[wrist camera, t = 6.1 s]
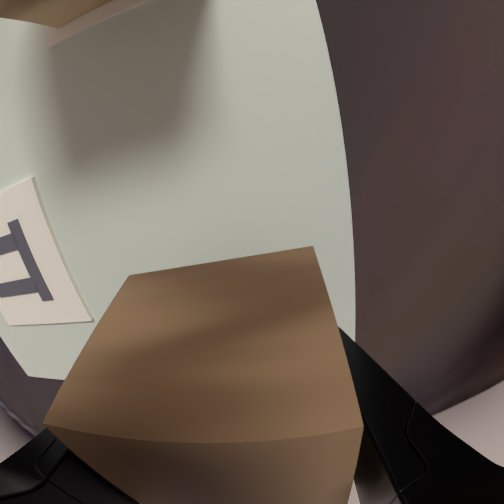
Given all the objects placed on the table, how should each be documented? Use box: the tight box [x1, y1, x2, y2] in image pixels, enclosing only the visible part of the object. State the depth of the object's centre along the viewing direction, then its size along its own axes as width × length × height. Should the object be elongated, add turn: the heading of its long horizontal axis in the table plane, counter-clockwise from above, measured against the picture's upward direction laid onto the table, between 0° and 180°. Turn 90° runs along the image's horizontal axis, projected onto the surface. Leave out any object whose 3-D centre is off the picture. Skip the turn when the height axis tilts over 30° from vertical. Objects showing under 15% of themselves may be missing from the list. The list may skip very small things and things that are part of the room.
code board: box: [0, 0, 355, 380], centre depth 9 cm, size 18×20×1 cm
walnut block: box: [43, 246, 364, 504], centre depth 7 cm, size 5×5×5 cm
